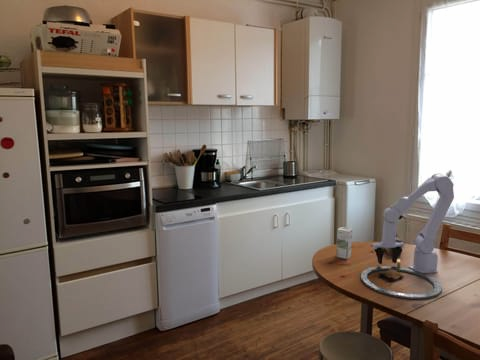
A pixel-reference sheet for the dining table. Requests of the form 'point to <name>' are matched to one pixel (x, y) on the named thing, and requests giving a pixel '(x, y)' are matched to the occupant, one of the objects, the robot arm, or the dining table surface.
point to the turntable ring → (433, 293)
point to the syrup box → (344, 243)
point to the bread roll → (391, 276)
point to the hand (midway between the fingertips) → (386, 262)
